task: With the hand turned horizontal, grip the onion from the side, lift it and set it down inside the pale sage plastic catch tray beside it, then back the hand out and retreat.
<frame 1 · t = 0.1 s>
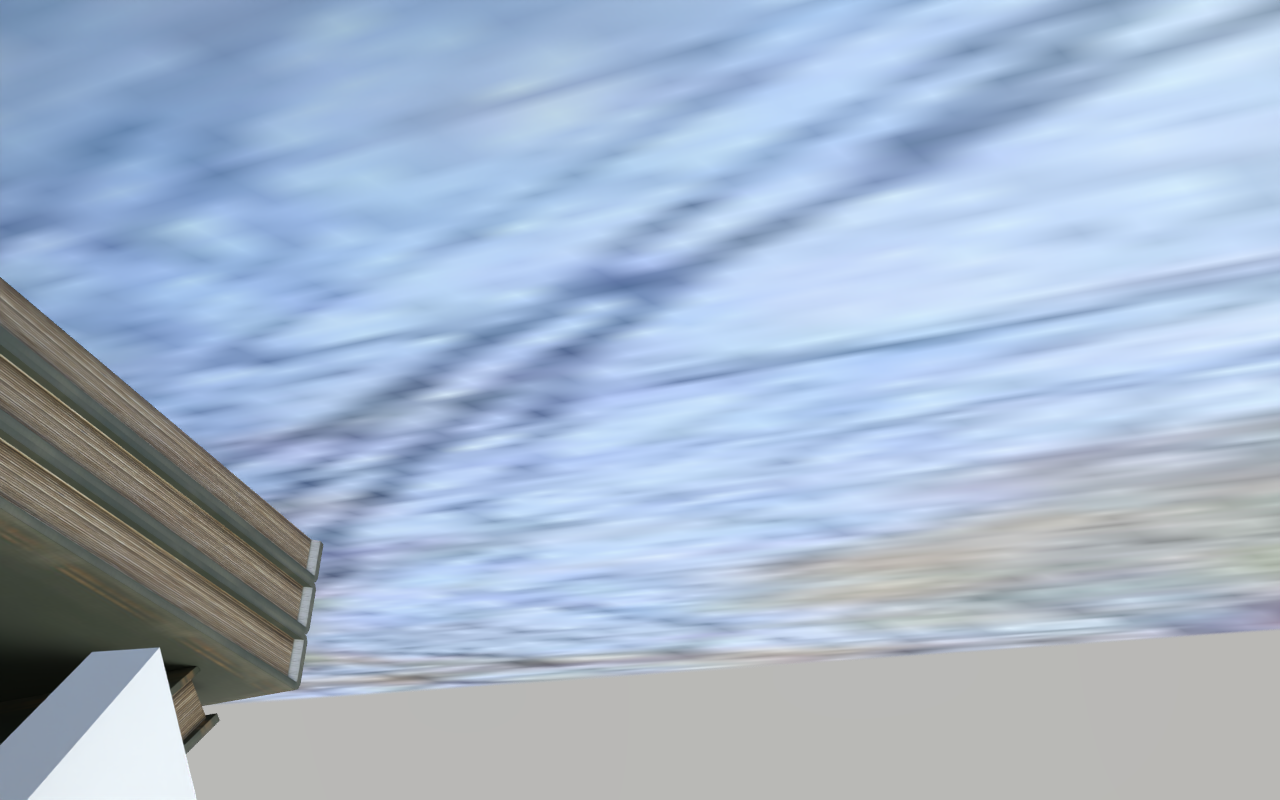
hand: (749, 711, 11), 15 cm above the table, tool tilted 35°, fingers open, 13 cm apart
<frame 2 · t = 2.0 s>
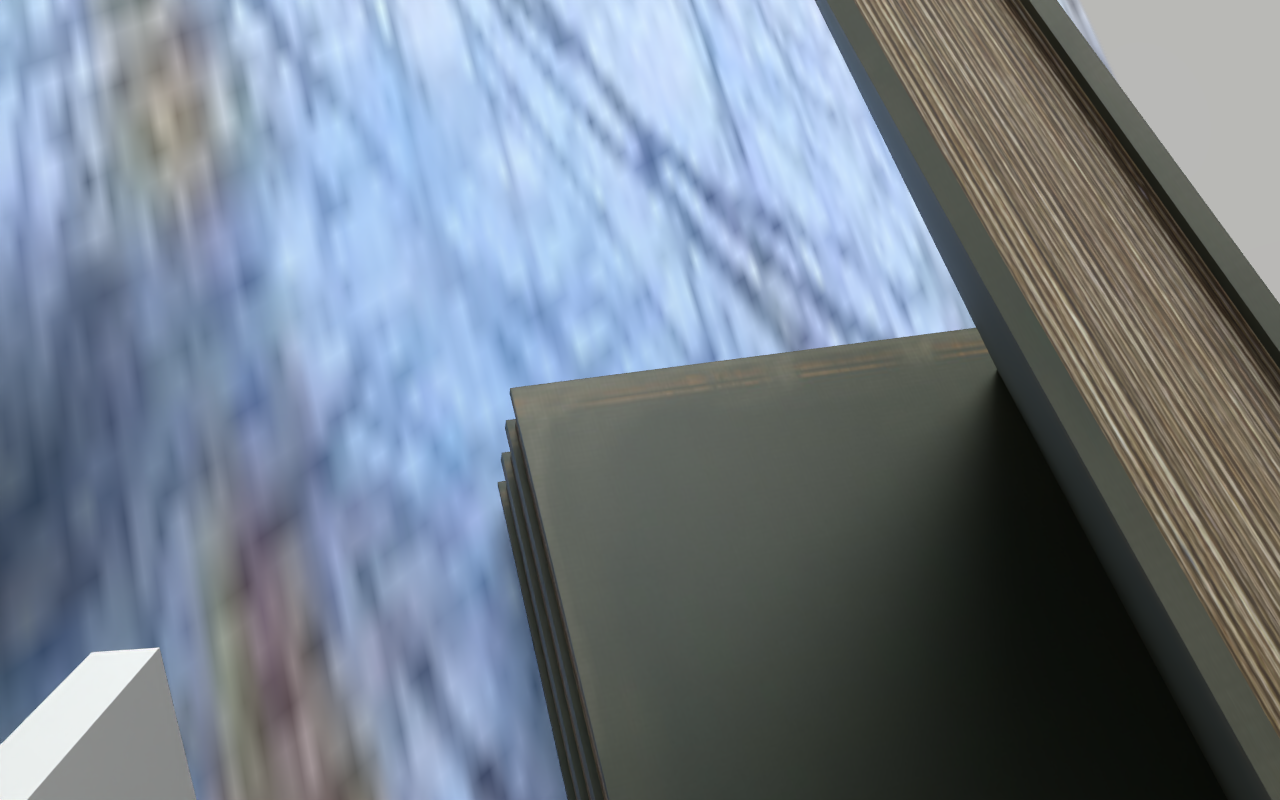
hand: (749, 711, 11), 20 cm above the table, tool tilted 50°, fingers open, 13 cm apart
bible: (865, 751, 32), on the table, touching gripper
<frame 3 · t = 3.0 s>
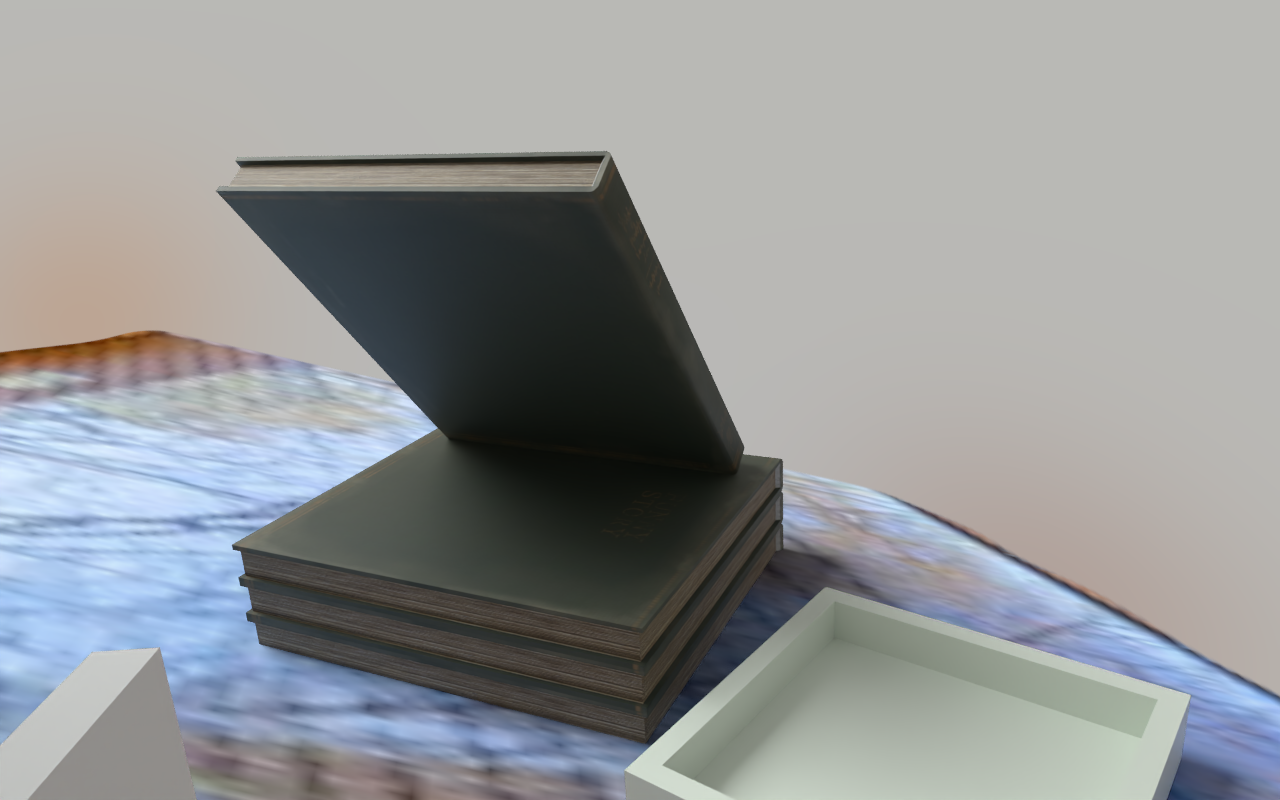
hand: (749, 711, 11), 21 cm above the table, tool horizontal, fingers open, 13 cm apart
catch tray: (913, 795, 39), on the table
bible: (535, 602, 55), on the table
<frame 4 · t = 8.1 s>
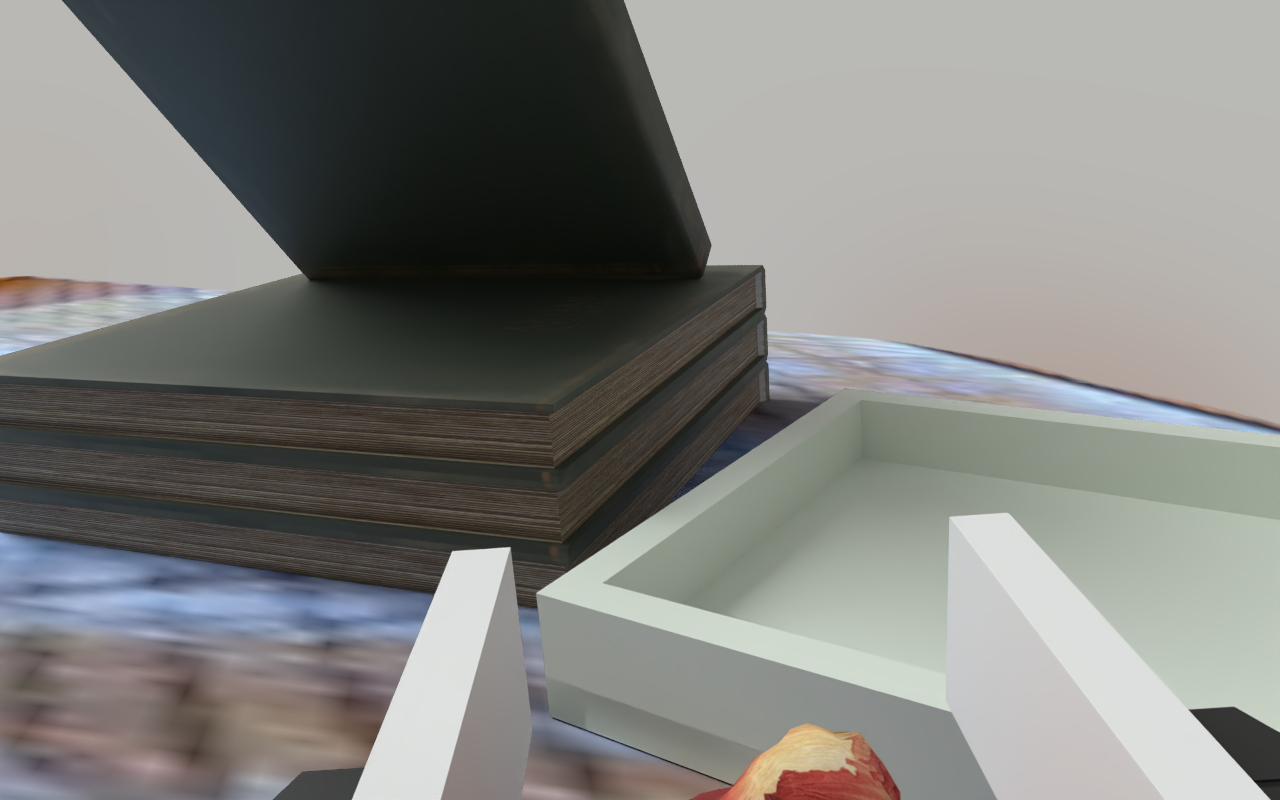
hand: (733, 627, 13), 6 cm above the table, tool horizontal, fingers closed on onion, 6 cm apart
catch tray: (1026, 635, 23), on the table
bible: (422, 471, 39), on the table
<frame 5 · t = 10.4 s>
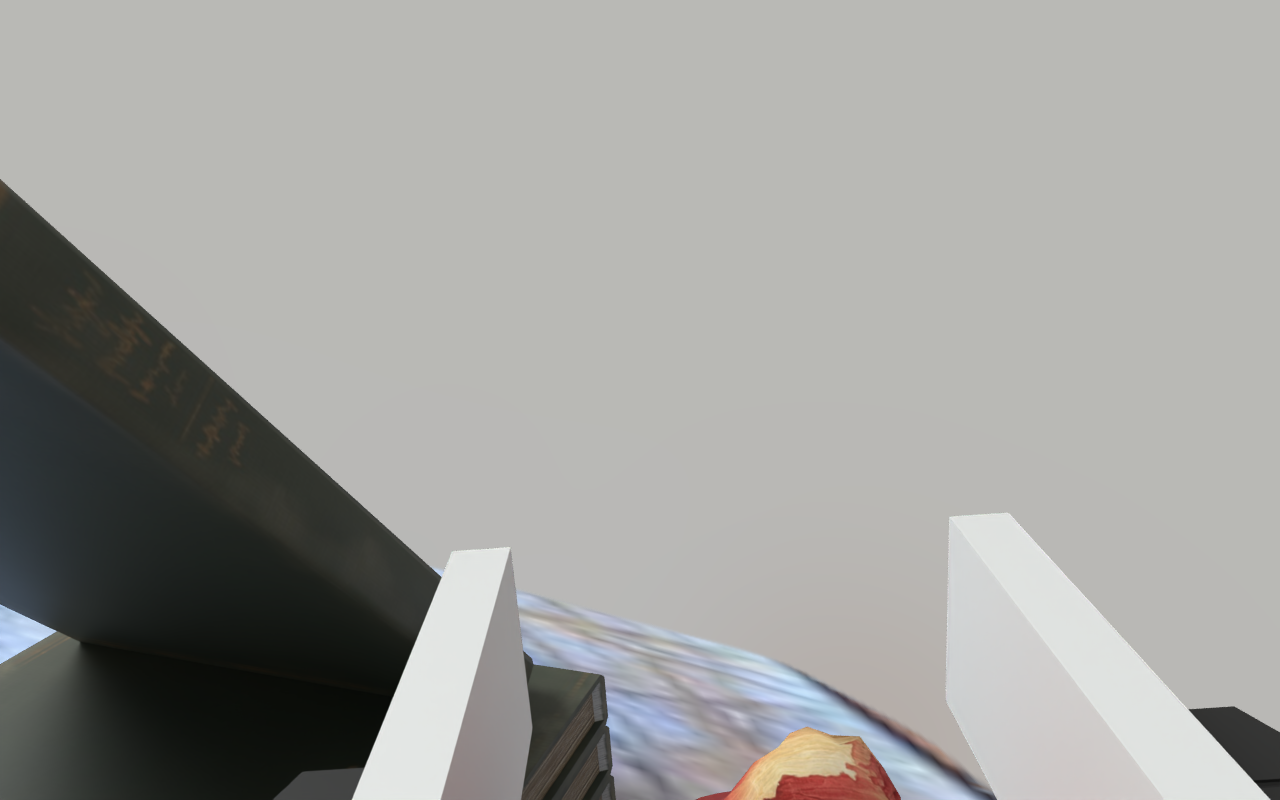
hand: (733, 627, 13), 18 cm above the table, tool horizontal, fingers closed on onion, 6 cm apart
when the fingers open (9 cm above the table, at t = 12.7 s): onion drops 2 cm, resting on catch tray.
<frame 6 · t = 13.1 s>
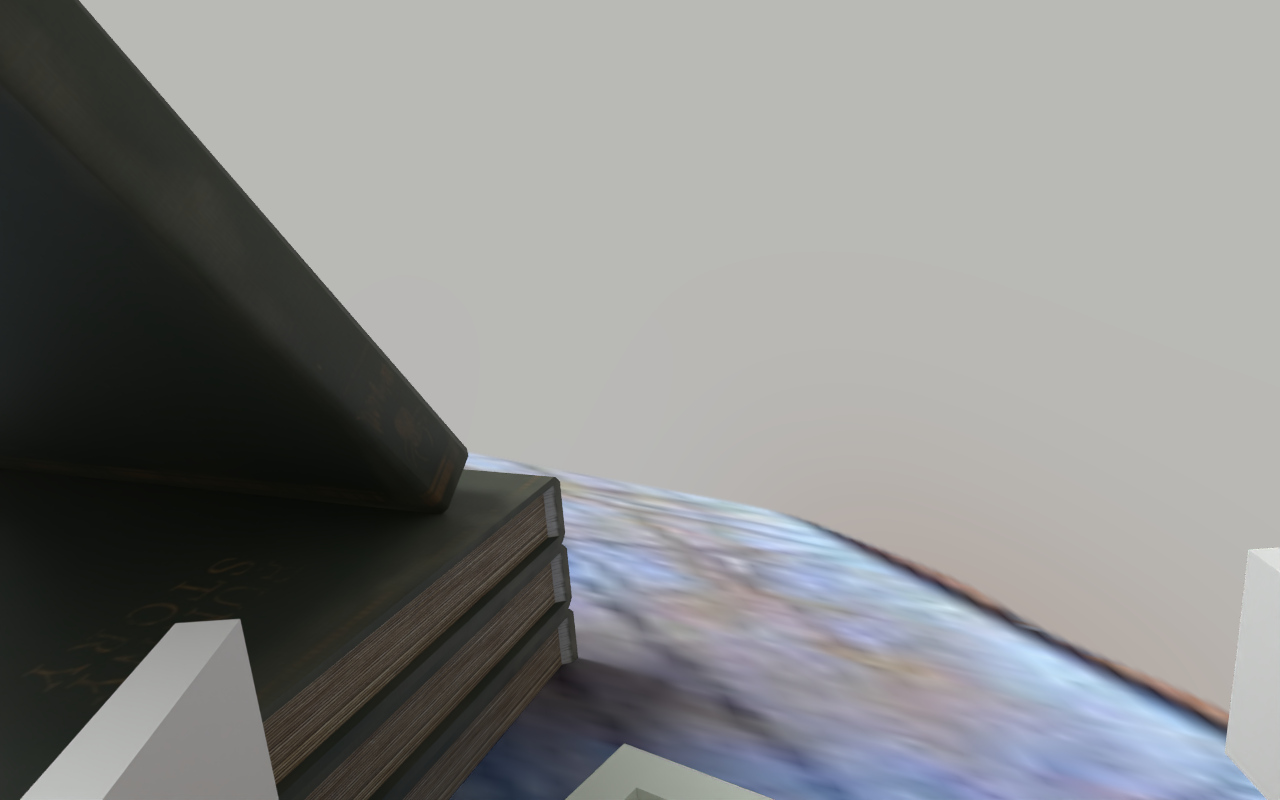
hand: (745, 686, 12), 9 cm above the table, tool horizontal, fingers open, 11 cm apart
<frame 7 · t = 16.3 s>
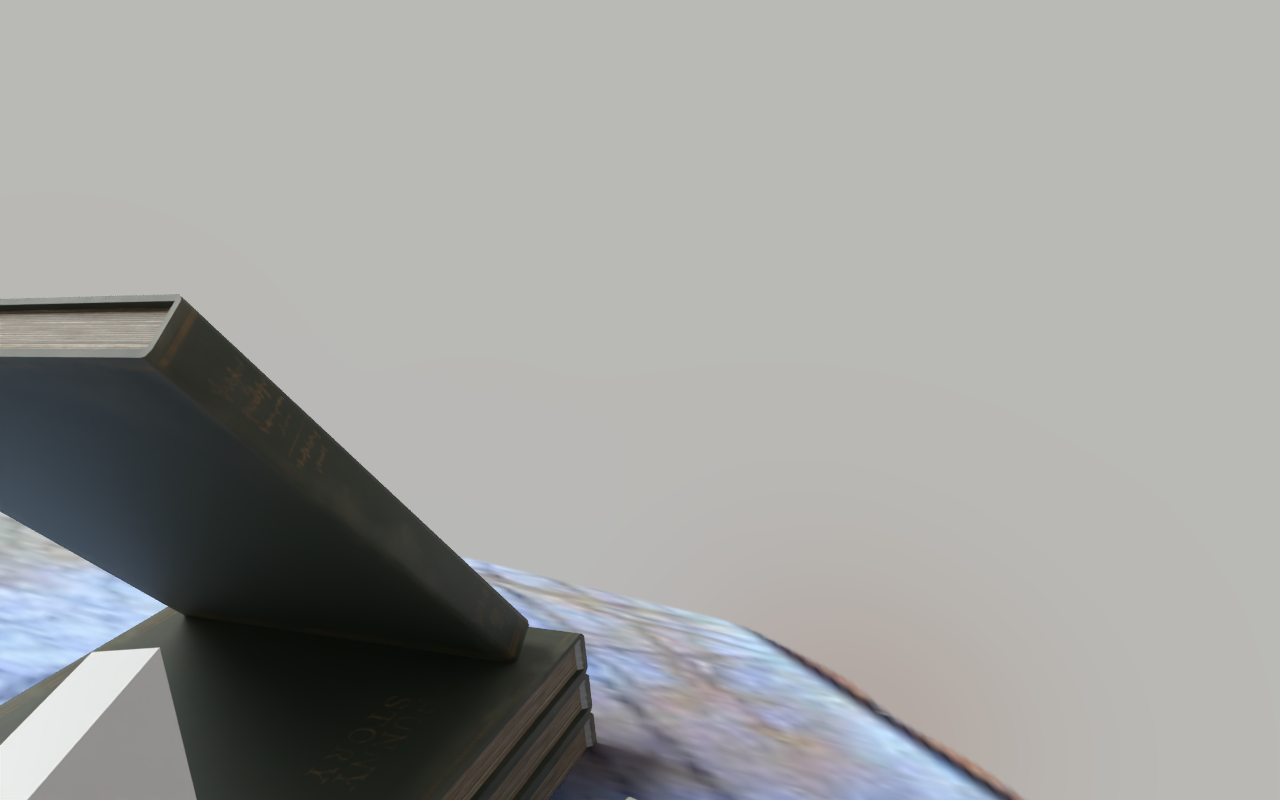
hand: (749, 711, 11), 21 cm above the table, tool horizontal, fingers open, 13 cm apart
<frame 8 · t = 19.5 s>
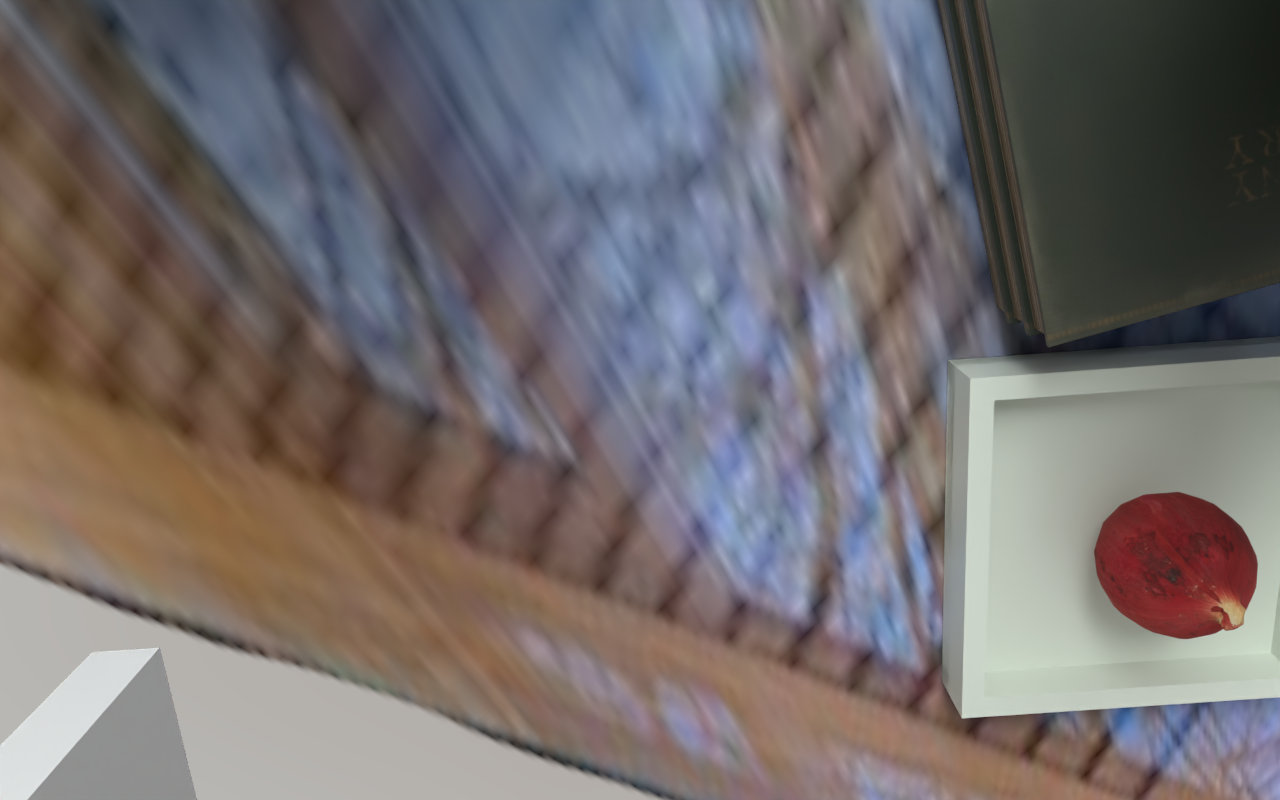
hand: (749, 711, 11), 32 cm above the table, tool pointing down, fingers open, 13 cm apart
catch tray: (1120, 516, 45), on the table
onion: (1127, 524, 44), point 1 cm above the table, touching catch tray
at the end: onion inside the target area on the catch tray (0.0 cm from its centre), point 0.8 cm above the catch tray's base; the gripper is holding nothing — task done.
